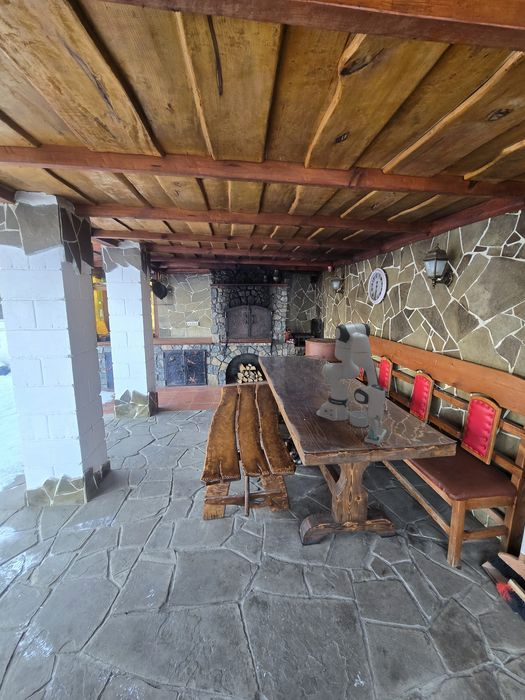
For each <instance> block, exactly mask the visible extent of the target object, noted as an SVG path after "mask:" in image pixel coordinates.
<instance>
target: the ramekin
mask: <svg viewBox="0 0 525 700" xmlns="http://www.w3.org/2000/svg"><path fill="white" fill-rule="evenodd" d="M348 417H349V423H350V425H352V426H354V427H356V428H366V427H368V426H369V425H370V424H369V422H368V420H367V412H365V411H361V410H360V411H359V410H353V411H350V412H349V414H348Z"/></svg>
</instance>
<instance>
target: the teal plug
mask: <svg viewBox="0 0 525 700" xmlns="http://www.w3.org/2000/svg"><path fill="white" fill-rule="evenodd" d="M369 428H370V427H369ZM369 432H370V439H371V440H375V441H377V438H374V437H373V434H374V431H373V429H372V428H370V429H369ZM377 437H378V435H377Z"/></svg>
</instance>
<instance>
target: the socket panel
mask: <svg viewBox="0 0 525 700" xmlns="http://www.w3.org/2000/svg"><path fill="white" fill-rule="evenodd" d="M387 431H388V430H387V429H383V430H382V435H378V437H377V441H375V440H371V439H370V431H369V432H368V433H367V435H366V436H365V437H364V440H363V441H364V442H366V443H369V444H374V445H376V446H380V444H381V443H382V441H383V439H384V437H385V436H386V434H387Z"/></svg>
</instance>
